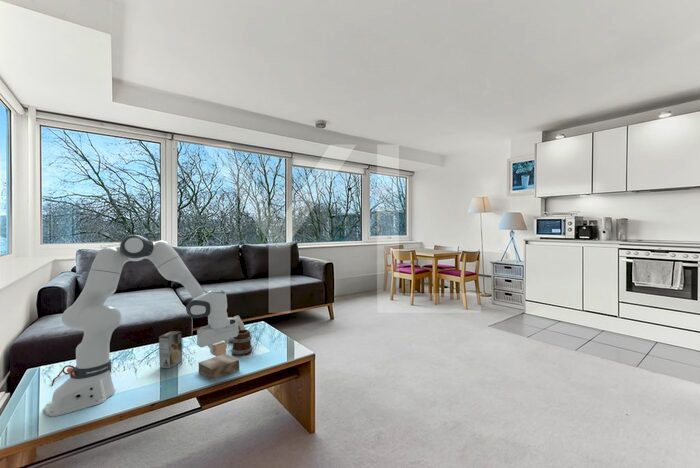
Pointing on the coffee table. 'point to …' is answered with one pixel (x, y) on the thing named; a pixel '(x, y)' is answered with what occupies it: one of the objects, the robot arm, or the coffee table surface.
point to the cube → (219, 348)
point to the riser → (218, 366)
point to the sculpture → (239, 323)
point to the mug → (242, 343)
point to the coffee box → (170, 349)
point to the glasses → (61, 372)
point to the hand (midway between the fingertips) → (218, 350)
